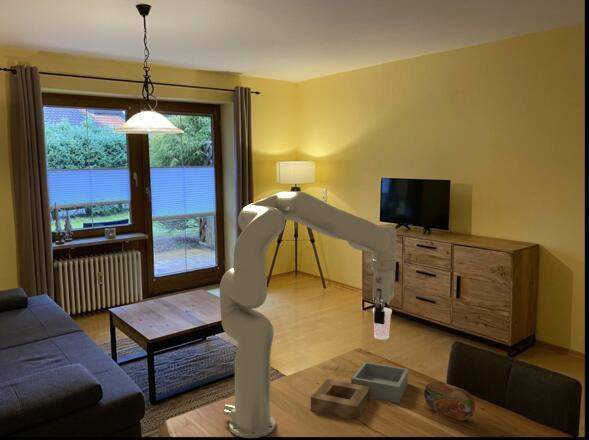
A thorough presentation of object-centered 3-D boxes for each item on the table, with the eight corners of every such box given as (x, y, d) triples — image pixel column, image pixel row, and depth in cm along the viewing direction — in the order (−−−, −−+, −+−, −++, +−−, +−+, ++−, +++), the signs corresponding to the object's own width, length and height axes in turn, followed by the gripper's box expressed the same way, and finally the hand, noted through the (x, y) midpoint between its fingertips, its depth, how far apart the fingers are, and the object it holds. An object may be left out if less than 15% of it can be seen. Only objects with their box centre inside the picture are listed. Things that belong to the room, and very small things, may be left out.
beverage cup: (368, 337, 151) (369, 294, 150) (377, 332, 156) (379, 290, 155) (385, 341, 147) (386, 297, 146) (394, 336, 152) (395, 293, 151)
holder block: (310, 410, 138) (310, 397, 138) (326, 391, 151) (327, 378, 151) (357, 420, 133) (357, 406, 132) (370, 399, 145) (370, 387, 145)
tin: (423, 406, 142) (424, 378, 141) (429, 403, 144) (430, 376, 143) (470, 426, 130) (471, 396, 130) (476, 422, 133) (477, 393, 132)
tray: (351, 393, 149) (351, 378, 149) (363, 375, 163) (364, 361, 163) (398, 402, 143) (399, 387, 143) (408, 383, 157) (408, 369, 157)
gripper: (389, 270, 140) (387, 329, 142) (400, 261, 156) (399, 315, 158) (364, 268, 143) (363, 326, 145) (378, 259, 159) (376, 312, 161)
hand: (381, 320), depth 151 cm, fingers closed on beverage cup, 6 cm apart
